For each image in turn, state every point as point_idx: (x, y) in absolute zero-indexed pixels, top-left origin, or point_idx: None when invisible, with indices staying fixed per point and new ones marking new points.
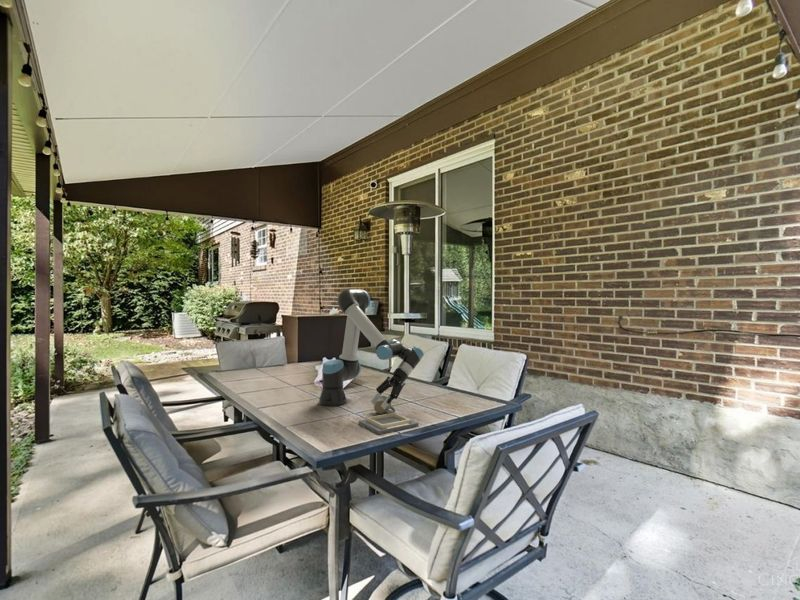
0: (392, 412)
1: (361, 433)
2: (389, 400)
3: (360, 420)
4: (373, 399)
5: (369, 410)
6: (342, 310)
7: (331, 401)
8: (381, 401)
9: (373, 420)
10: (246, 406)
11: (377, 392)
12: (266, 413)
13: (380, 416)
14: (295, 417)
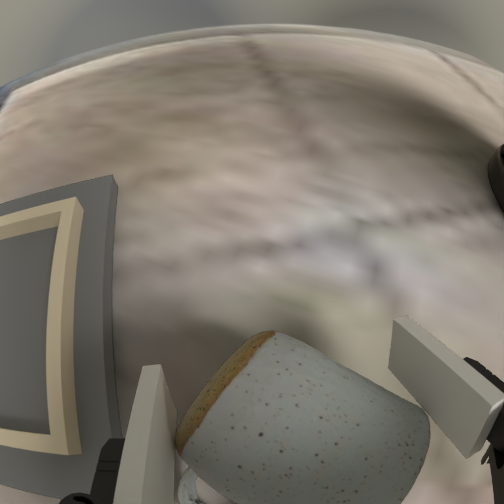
0: (184, 498)
1: (15, 173)
2: (100, 471)
3: (110, 184)
4: (414, 349)
5: None
6: None
7: (501, 163)
8: (207, 394)
9: (12, 218)
10: (445, 49)
11: (488, 394)
12: (387, 42)
13: (50, 301)
14: (335, 57)
